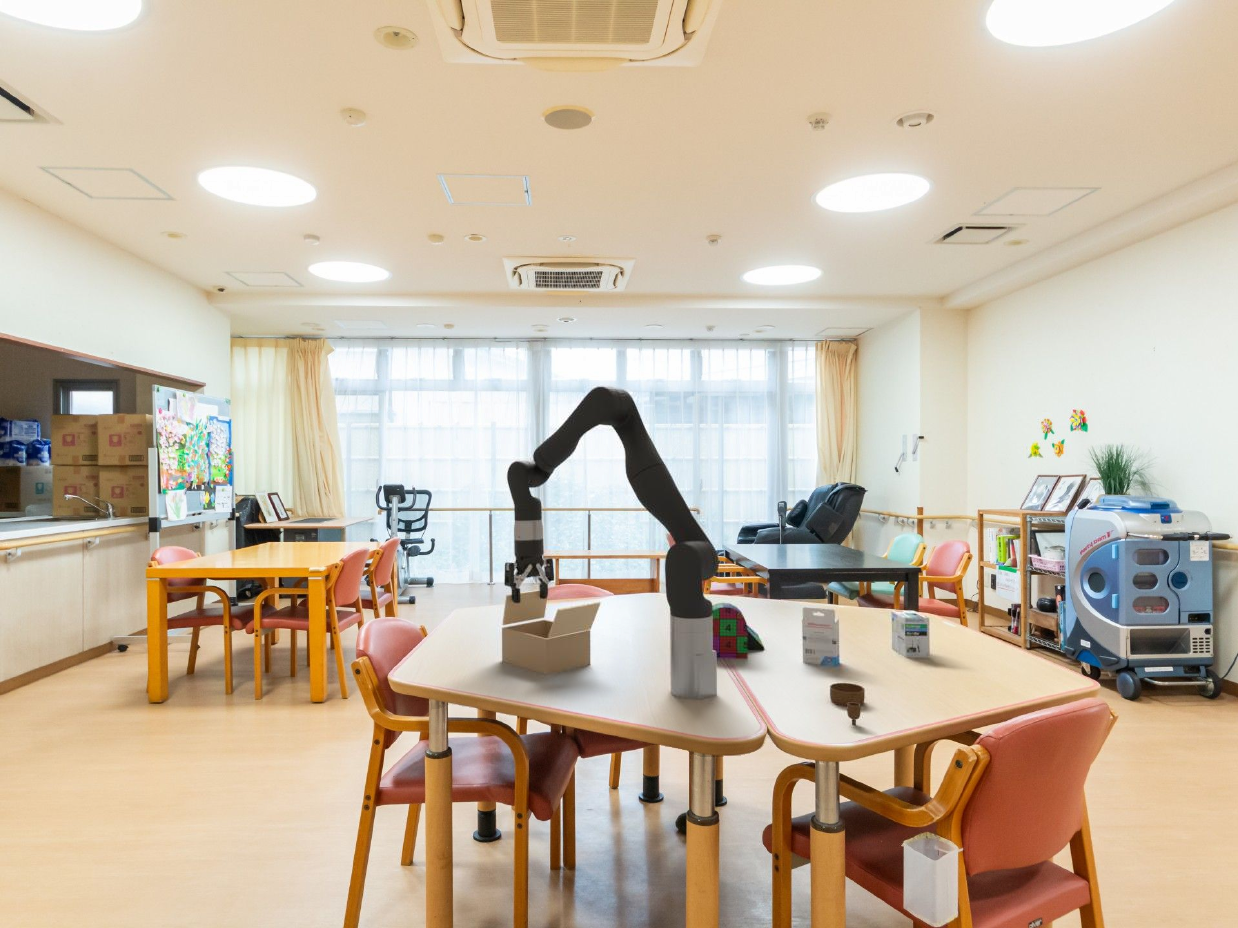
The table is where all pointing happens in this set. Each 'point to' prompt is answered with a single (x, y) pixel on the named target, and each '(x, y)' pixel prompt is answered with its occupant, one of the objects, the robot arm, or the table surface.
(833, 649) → the ink box
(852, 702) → the place setting
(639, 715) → the table surface
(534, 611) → the far flap
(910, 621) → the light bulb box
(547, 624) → the carton
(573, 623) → the near flap
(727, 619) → the toy block train
